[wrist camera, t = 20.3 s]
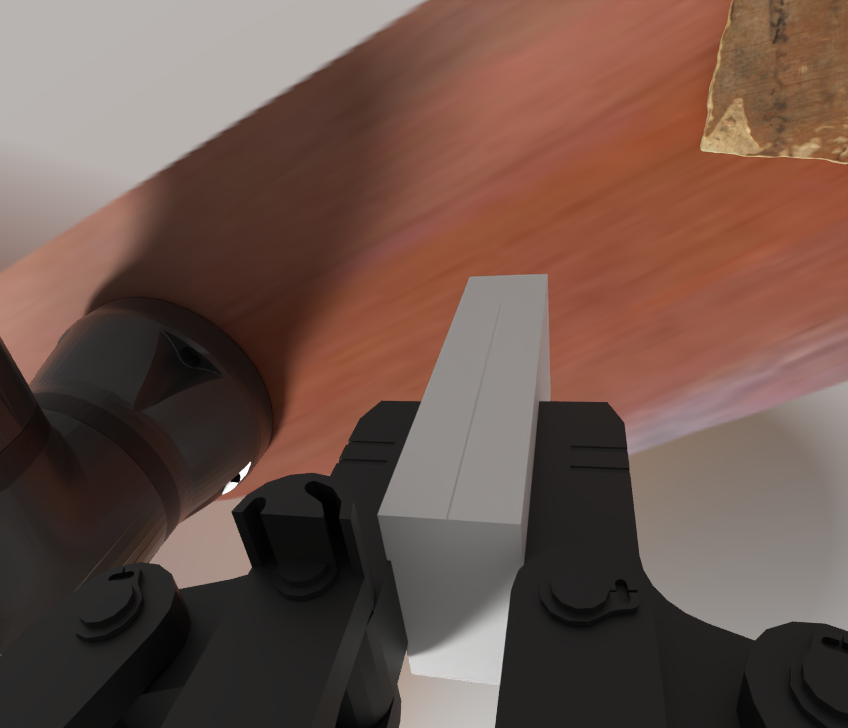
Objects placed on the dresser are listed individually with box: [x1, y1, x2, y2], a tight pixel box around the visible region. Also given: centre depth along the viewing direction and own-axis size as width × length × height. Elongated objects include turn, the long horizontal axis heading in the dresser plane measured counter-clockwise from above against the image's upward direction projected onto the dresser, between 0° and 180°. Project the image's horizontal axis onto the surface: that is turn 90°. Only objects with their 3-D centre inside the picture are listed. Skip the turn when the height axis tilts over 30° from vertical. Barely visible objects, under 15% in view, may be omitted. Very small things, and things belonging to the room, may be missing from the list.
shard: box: [700, 0, 848, 164], centre depth 24 cm, size 11×8×2 cm
